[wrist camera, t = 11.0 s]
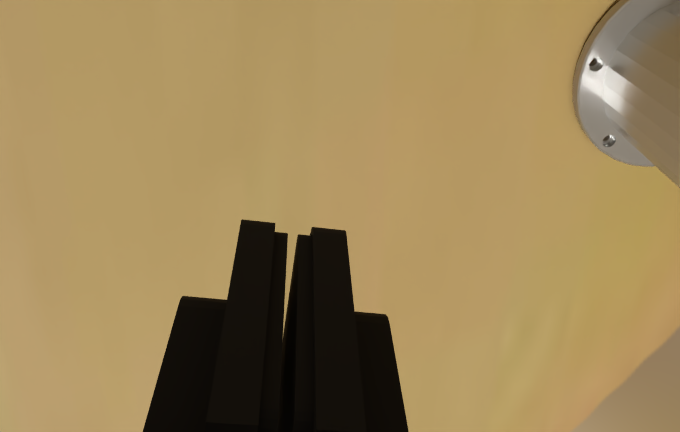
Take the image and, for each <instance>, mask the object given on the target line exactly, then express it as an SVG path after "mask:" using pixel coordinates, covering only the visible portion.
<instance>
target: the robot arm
mask: <svg viewBox="0 0 680 432" xmlns="http://www.w3.org/2000/svg"><path fill="white" fill-rule="evenodd" d="M593 59H594V61H593V63H591V64H590V62H591V61H592V60H593ZM573 104H574V109H575V115H576V117H577V120H578V122H579V124H580V126H581V129H582V130H583V132H584V133H585V134H586V136H587V137H588V138H589V139H590V141H591V142H592V143H593V144H594V145H595V146H596V147H597V148H598V149H599V150H600V151H602V152H603V153H605V154H606V155H608V156H610V157H611V158H613V159H615V160H617V161H620V162H623V163H626V164H629V165H635V166H643V167H653V166H656V167H657V168H658V169H659V170H660V171H661V172H662V173H664V174H665V175H666V176H667V177H668V178H669V179H670V180H671V181H672V182H674V183H675V184H676V185H677V186H678V187H679V188H680V0H620V1H619V2H617V3H616V4H615V5H614V6H613V7H612V8H611V9H610V10H609V11H608V12H607V13H606V14H605V16H604V17H603V18H602V19H601V20H600V22H599V23H598V24H597V25H596V26H595V28H594V30H593V31H592V33H591V35H590V36H589V38H588V40H587V41H586V43H585V45H584V47H583V50H582V52H581V54H580V57H579V59H578V62H577V65H576V70H575V75H574V79H573ZM287 238H288V233H279V232H275V223H270V222H260V221H251V220H241V225H240V231H239V236H238V242H237V248H236V253H235V259H234V264H233V270H232V276H231V281H230V287H229V293H228V298H227V300H221V299H210V298H199V297H188V296H182V298H181V300H180V302H179V305H178V309H177V312H176V316H175V319H174V323H173V327H172V330H171V334H170V337H169V341H168V344H167V348H166V351H165V355H164V358H163V362H162V365H161V369H160V373H159V376H158V380H157V383H156V387H155V390H154V394H153V397H152V401H151V404H150V408H149V412H148V415H147V419H146V422H145V426H144V429H143V432H408V426H407V420H406V415H405V409H404V403H403V398H402V392H401V386H400V381H399V375H398V369H397V363H396V358H395V352H394V346H393V341H392V335H391V329H390V324H389V320H388V317H387V316H386V315H385V314H375V313H364V312H354V304H353V294H352V284H351V275H350V265H349V255H348V246H347V236H346V231H345V230H335V229H326V228H316V227H312V229H311V233H310V236H308V235H299V234H298V237H297V243H296V250H295V257H294V264H293V271H292V279H291V286H290V293H289V300H288V307H287V314H286V321H285V328H284V335H283V319H284V299H285V279H286V259H287ZM282 339H283V342H282Z"/></svg>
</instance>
